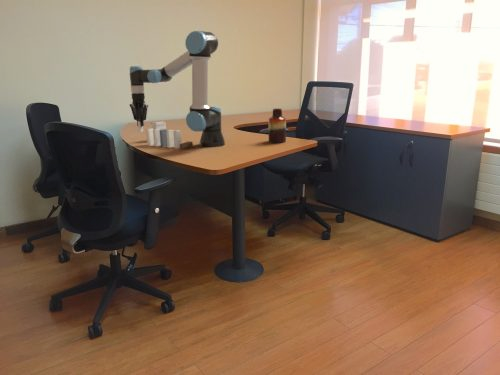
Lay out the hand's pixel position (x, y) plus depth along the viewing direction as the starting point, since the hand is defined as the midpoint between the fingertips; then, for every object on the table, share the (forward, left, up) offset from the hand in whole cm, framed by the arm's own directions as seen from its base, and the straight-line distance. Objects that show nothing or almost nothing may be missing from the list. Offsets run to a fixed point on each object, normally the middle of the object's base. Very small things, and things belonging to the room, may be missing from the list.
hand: (141, 131), depth 262 cm
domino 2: (-12, 0, -8) cm, 14 cm away
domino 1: (-7, 0, -8) cm, 11 cm away
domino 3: (-17, 0, -8) cm, 19 cm away
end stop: (-33, 0, -8) cm, 34 cm away
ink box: (-2, -15, -8) cm, 17 cm away
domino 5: (-27, 0, -8) cm, 28 cm away
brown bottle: (-75, -39, -8) cm, 85 cm away
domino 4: (-22, 0, -8) cm, 24 cm away
